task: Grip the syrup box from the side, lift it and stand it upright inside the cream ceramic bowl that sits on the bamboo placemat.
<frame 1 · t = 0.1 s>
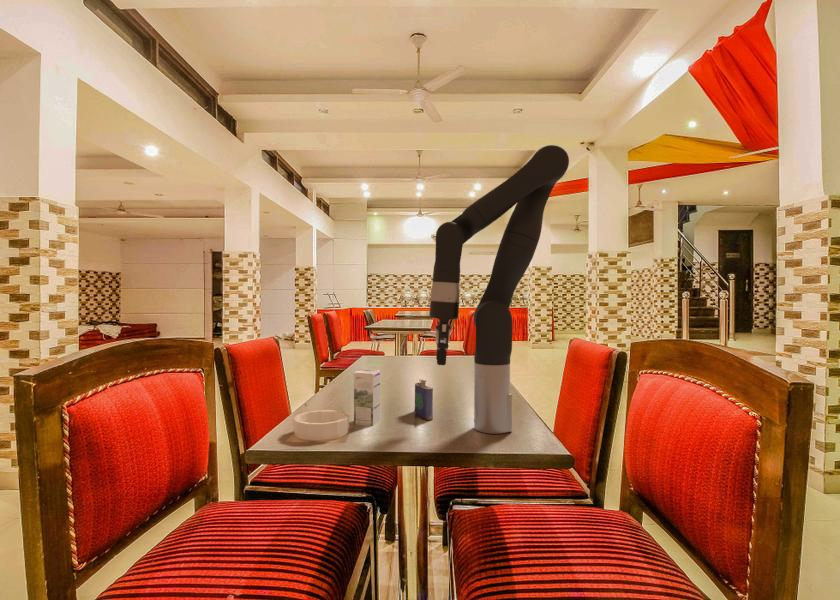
hand: (440, 362, 116), 17 cm above the table, tool pointing down, fingers open, 8 cm apart
bowl: (321, 432, 110), resting on placemat
syrup box: (367, 425, 120), on the table
placemat: (321, 435, 110), on the table
flask: (422, 417, 128), on the table
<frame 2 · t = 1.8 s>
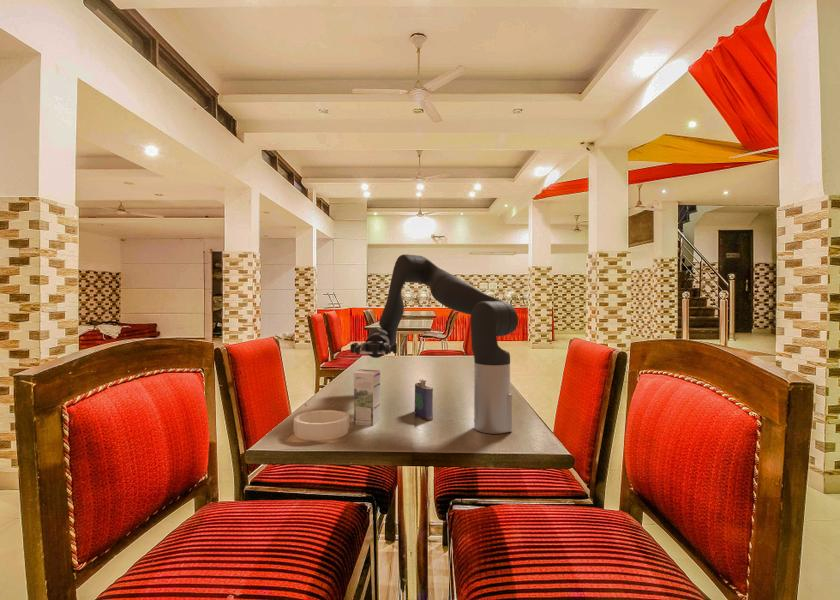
hand: (371, 351, 131), 18 cm above the table, tool horizontal, fingers open, 8 cm apart
nothing on the table moved.
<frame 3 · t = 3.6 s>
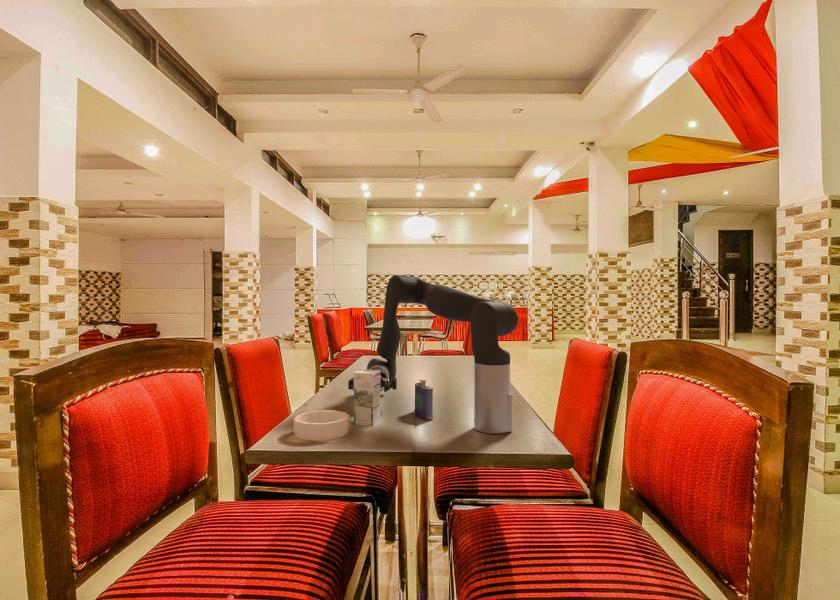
hand: (370, 388, 126), 8 cm above the table, tool horizontal, fingers open, 8 cm apart
nothing on the table moved.
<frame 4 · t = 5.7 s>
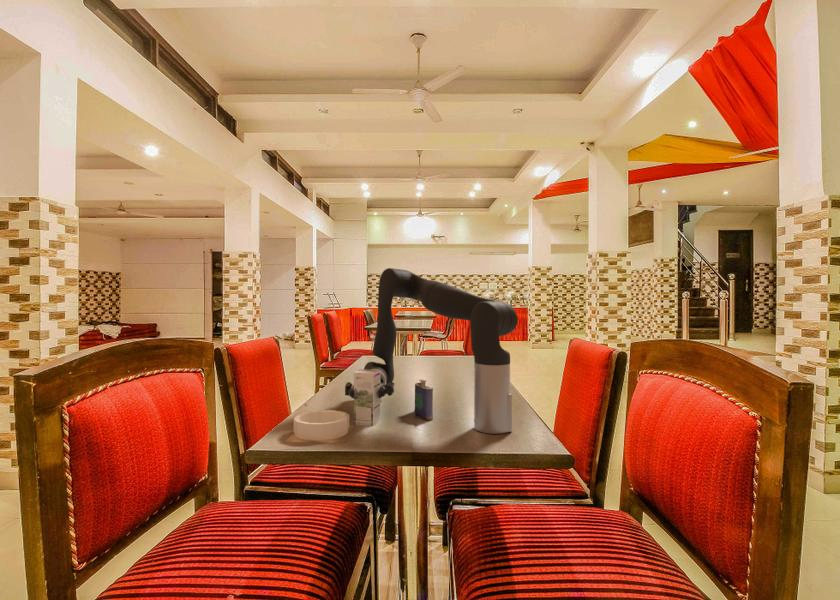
hand: (366, 394, 118), 9 cm above the table, tool horizontal, fingers closed on syrup box, 6 cm apart
syrup box: (367, 424, 120), on the table, touching gripper
everything else where it was.
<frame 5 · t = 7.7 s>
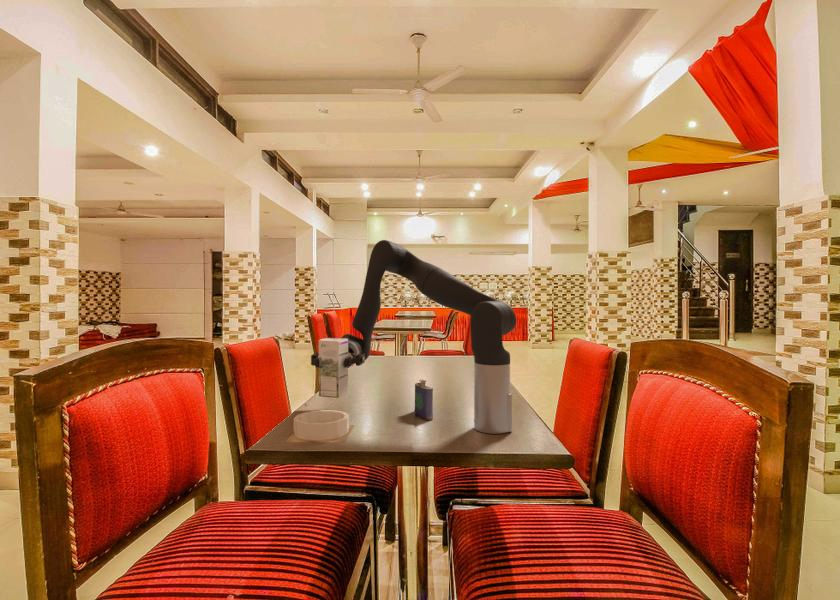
hand: (331, 363, 111), 18 cm above the table, tool horizontal, fingers closed on syrup box, 6 cm apart
syrup box: (333, 396, 113), point 9 cm above the table, touching gripper
everything else where it was.
when the fingers open (11 cm above the table, at t = 9.8 s): syrup box drops 1 cm, resting on bowl.
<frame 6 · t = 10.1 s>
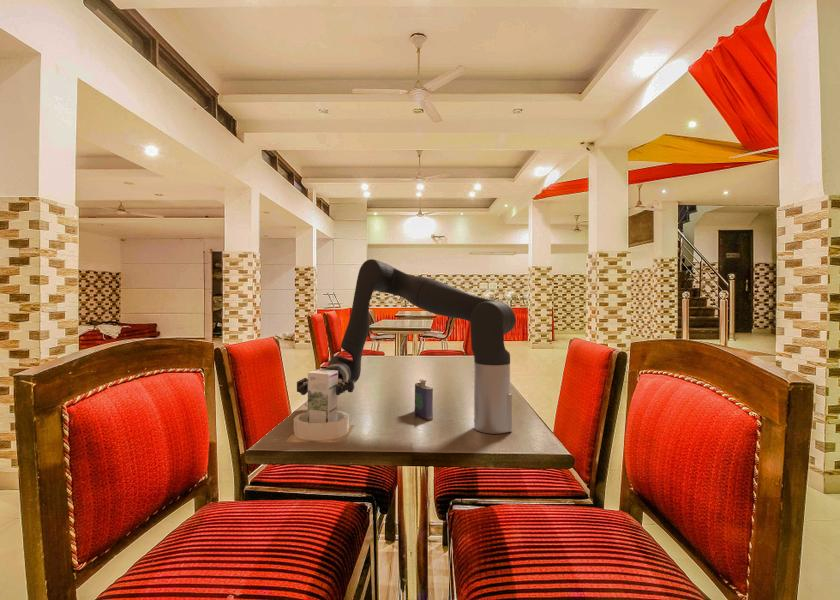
hand: (320, 390, 108), 11 cm above the table, tool horizontal, fingers open, 8 cm apart
syrup box: (322, 430, 110), point 1 cm above the table, touching bowl
everything else where it was.
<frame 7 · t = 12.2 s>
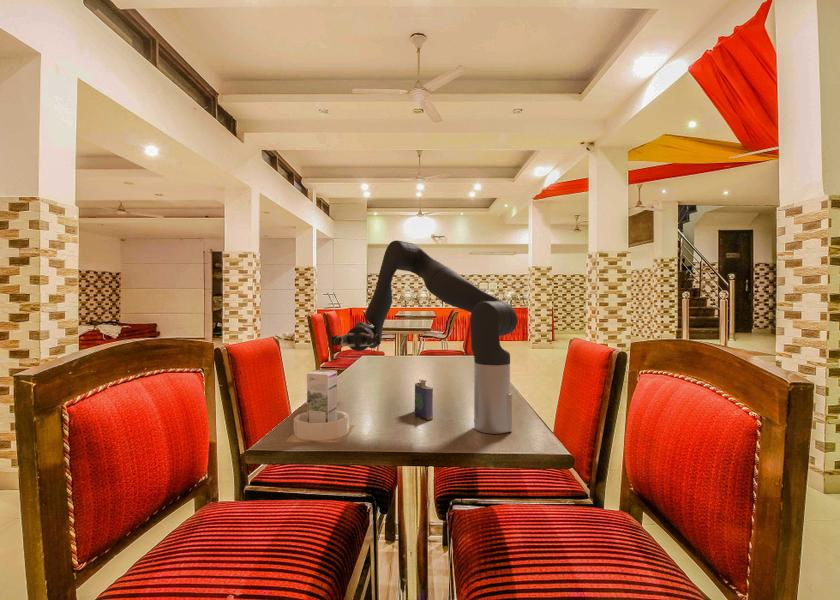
hand: (352, 341, 123), 22 cm above the table, tool horizontal, fingers open, 8 cm apart
nothing on the table moved.
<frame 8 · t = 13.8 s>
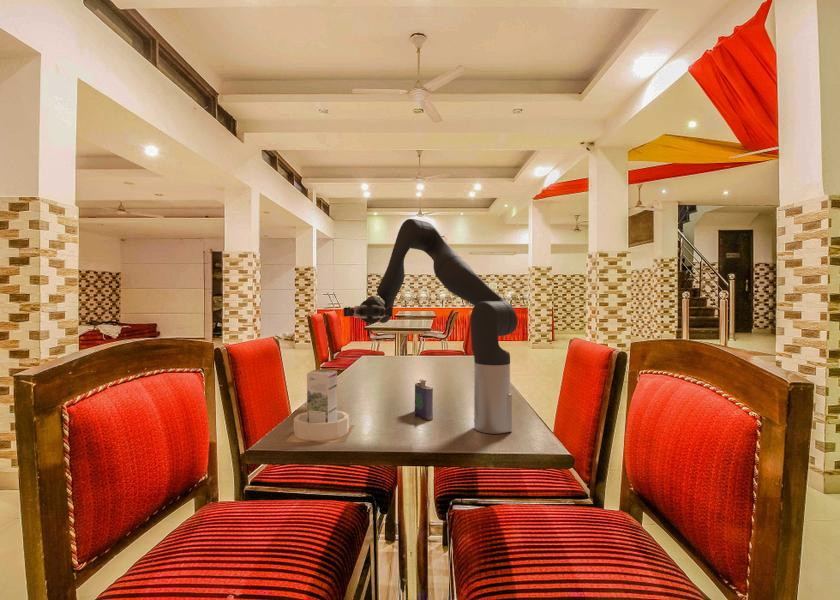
hand: (365, 312, 124), 30 cm above the table, tool horizontal, fingers open, 8 cm apart
nothing on the table moved.
at the end: syrup box inside the target area on the bowl (0.2 cm from its centre), point 0.6 cm above the bowl's base; syrup box tilted 0°; the gripper is holding nothing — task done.
